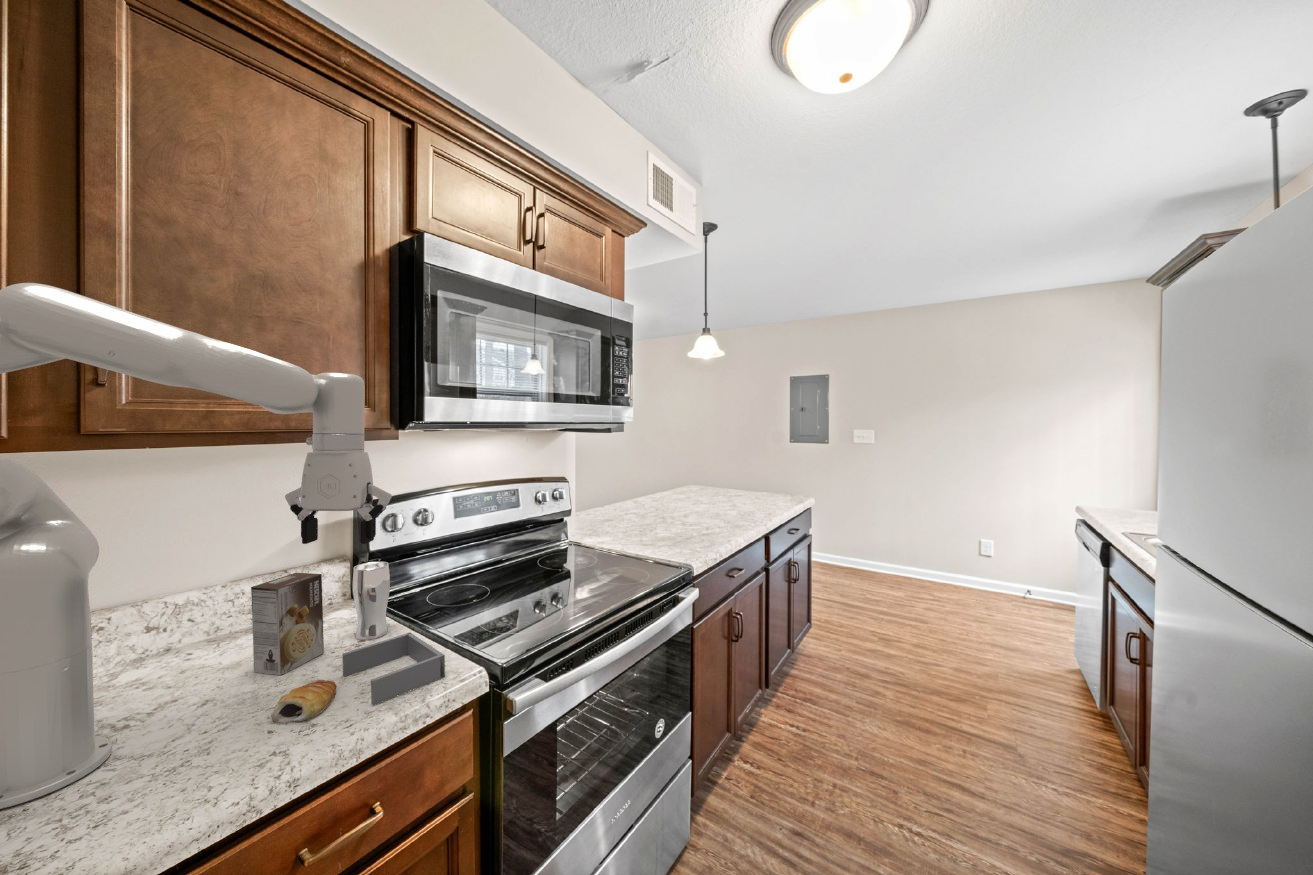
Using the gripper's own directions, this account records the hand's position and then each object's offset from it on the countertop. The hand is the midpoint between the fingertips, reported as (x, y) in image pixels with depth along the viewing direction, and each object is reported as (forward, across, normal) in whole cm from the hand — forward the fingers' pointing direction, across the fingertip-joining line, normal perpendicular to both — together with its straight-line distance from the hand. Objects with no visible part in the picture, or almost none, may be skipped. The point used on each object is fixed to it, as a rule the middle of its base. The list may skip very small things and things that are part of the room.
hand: (338, 542), depth 84 cm
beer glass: (+25, -5, +20) cm, 33 cm away
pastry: (+26, -1, -7) cm, 27 cm away
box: (+25, +8, +2) cm, 26 cm away
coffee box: (+25, -14, +8) cm, 30 cm away
